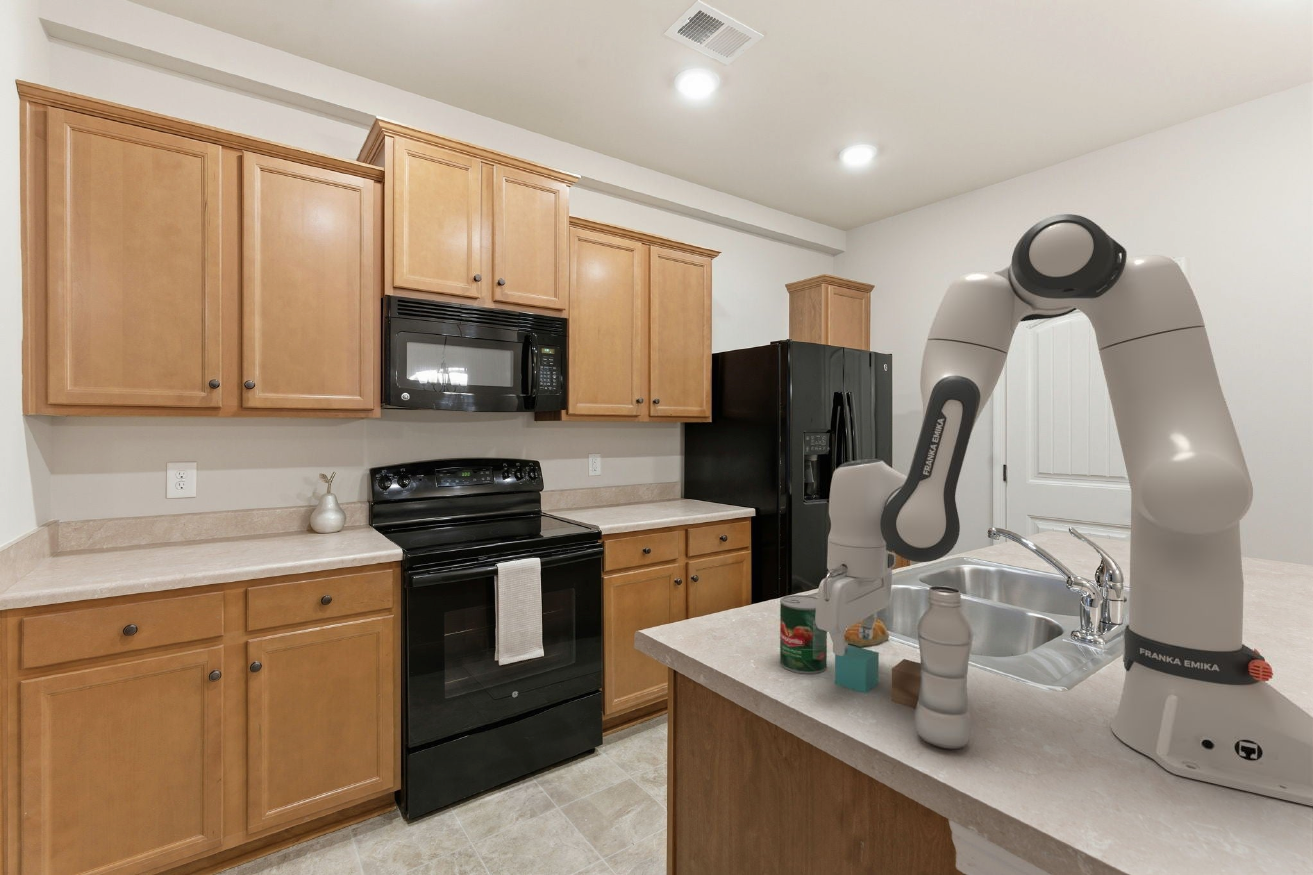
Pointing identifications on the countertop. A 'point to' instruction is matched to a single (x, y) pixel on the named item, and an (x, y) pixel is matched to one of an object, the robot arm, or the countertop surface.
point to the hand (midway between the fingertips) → (853, 645)
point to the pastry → (854, 639)
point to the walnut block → (906, 683)
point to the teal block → (857, 669)
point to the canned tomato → (801, 636)
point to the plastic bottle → (944, 670)
